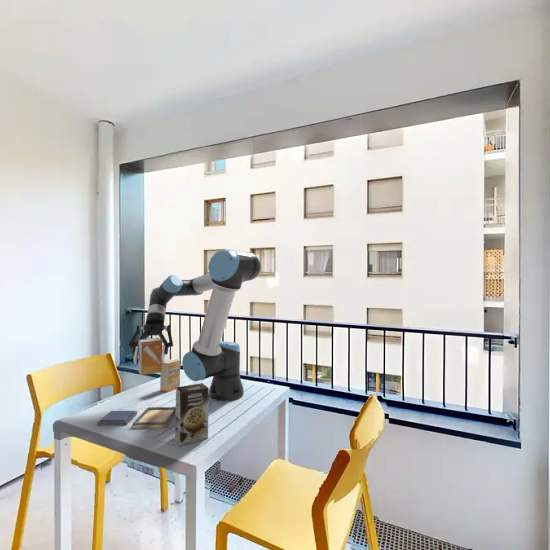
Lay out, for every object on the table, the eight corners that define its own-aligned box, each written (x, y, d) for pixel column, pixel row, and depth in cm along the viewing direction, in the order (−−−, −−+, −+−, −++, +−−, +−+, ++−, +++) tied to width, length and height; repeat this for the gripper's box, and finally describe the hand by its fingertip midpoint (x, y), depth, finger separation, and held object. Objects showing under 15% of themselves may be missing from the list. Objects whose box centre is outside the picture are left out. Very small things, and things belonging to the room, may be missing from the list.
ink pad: (137, 414, 119) (137, 410, 119) (126, 424, 110) (126, 420, 110) (110, 414, 119) (110, 410, 119) (97, 425, 110) (97, 420, 110)
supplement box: (167, 392, 142) (167, 363, 142) (159, 390, 144) (159, 362, 144) (180, 387, 149) (180, 359, 149) (172, 385, 151) (173, 358, 151)
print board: (178, 410, 122) (179, 406, 122) (167, 427, 108) (167, 423, 108) (147, 411, 121) (147, 406, 121) (131, 428, 107) (131, 423, 107)
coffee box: (180, 446, 96) (180, 392, 96) (174, 437, 101) (175, 386, 101) (209, 438, 100) (209, 387, 101) (202, 430, 106) (202, 382, 106)
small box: (141, 375, 122) (141, 341, 122) (138, 372, 127) (138, 339, 127) (162, 372, 126) (162, 339, 126) (158, 368, 131) (158, 337, 132)
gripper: (182, 321, 144) (179, 365, 128) (130, 323, 140) (120, 368, 124) (181, 310, 139) (177, 354, 123) (127, 312, 135) (116, 358, 119)
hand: (148, 361), depth 124 cm, fingers closed on small box, 10 cm apart
